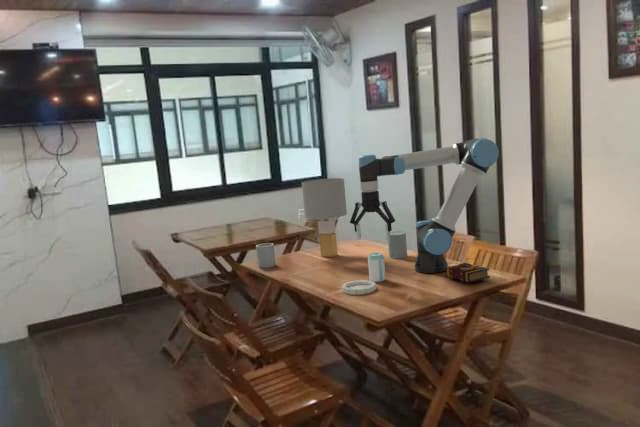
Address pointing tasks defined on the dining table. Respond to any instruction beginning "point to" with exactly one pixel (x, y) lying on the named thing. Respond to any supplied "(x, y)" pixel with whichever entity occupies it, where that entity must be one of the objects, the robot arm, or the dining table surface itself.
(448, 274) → the decorative book
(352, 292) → the saucer
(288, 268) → the dining table surface
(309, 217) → the lamp
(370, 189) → the robot arm
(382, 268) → the can
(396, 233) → the grey concrete cylinder
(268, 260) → the cup
